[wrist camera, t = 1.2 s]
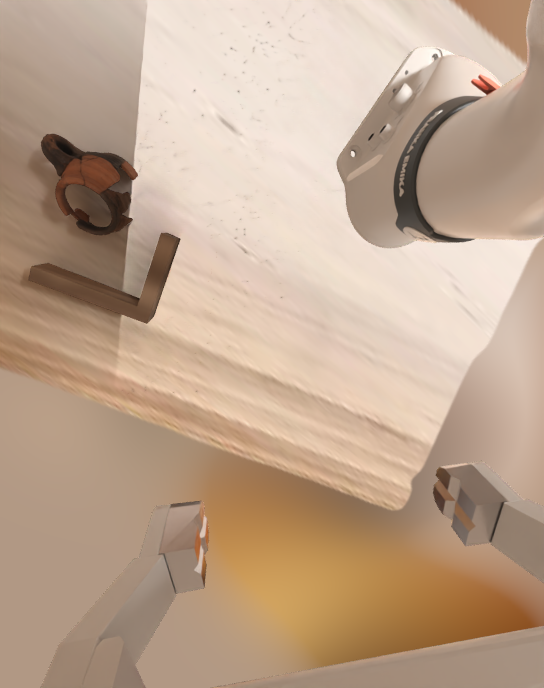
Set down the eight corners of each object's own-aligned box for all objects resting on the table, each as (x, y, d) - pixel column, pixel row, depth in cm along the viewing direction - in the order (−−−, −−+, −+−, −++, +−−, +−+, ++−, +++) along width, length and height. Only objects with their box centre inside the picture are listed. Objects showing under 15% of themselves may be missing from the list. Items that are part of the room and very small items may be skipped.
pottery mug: (160, 186, 42) (137, 213, 37) (127, 226, 47) (102, 255, 42) (76, 103, 36) (33, 120, 30) (48, 159, 41) (6, 182, 35)
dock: (65, 186, 41) (48, 182, 37) (180, 238, 45) (175, 239, 41) (45, 275, 44) (28, 280, 41) (153, 316, 48) (147, 323, 45)
